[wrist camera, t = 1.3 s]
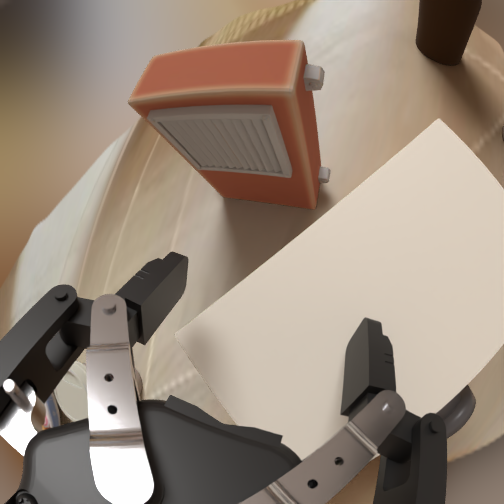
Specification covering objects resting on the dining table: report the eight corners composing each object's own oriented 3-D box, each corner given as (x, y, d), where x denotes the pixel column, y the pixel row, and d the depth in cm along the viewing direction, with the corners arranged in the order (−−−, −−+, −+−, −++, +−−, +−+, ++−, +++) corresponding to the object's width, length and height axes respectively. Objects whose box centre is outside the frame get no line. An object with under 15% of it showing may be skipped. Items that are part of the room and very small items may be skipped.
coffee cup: (159, 381, 36) (101, 401, 24) (135, 416, 36) (81, 439, 24) (120, 342, 38) (60, 347, 27) (101, 378, 38) (45, 390, 27)
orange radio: (225, 157, 39) (332, 168, 35) (212, 203, 38) (324, 219, 34) (144, 52, 19) (323, 34, 14) (109, 114, 18) (313, 104, 14)
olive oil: (450, 75, 32) (481, -37, 8) (402, 44, 35) (410, -67, 12) (469, 57, 31) (496, -38, 8) (426, 29, 34) (436, -66, 11)
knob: (417, 321, 23) (441, 325, 17) (458, 385, 20) (487, 403, 14) (365, 365, 23) (375, 383, 17) (410, 427, 21) (428, 455, 15)
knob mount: (386, 215, 32) (438, 118, 13) (445, 290, 28) (552, 269, 9) (259, 319, 34) (173, 334, 15) (318, 396, 30) (300, 496, 11)
